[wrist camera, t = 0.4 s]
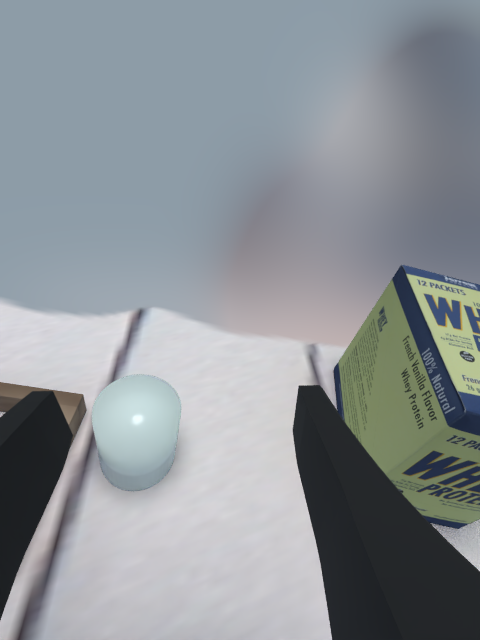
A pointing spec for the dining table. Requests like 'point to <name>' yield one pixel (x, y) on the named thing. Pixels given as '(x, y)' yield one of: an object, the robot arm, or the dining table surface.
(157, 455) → the dome-topped pale cylinder
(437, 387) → the protein box
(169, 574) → the dining table surface
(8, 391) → the brown square frame
